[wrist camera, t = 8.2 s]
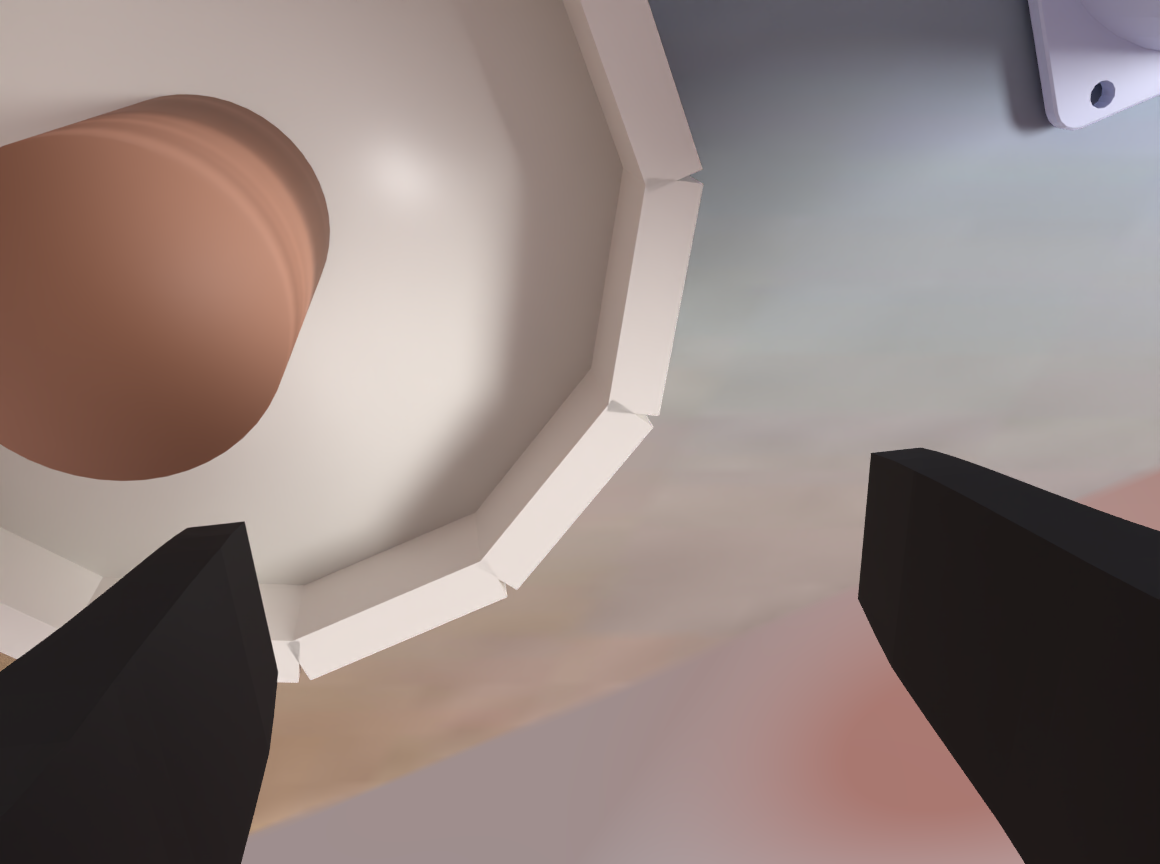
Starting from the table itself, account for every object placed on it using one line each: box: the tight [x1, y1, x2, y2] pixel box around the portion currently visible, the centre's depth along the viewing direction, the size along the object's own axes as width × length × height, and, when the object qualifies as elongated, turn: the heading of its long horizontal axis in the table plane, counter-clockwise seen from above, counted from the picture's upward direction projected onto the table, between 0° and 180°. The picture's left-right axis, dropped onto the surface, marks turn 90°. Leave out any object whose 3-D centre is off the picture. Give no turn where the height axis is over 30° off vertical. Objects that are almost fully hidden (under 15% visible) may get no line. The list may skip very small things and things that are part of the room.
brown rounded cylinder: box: [0, 94, 330, 481], centre depth 14 cm, size 4×4×6 cm
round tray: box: [0, 0, 704, 683], centre depth 16 cm, size 17×17×3 cm
